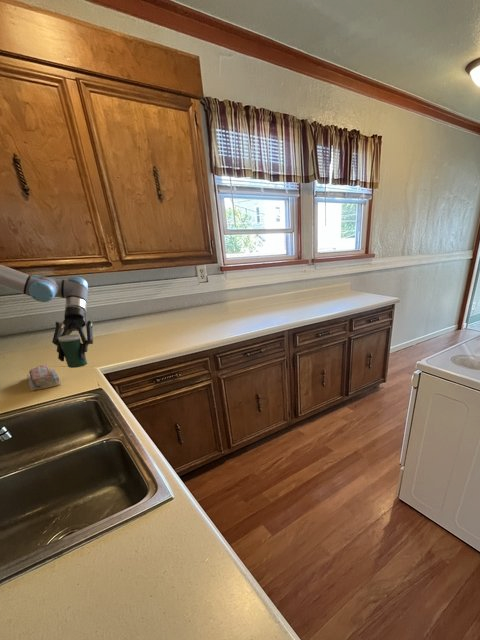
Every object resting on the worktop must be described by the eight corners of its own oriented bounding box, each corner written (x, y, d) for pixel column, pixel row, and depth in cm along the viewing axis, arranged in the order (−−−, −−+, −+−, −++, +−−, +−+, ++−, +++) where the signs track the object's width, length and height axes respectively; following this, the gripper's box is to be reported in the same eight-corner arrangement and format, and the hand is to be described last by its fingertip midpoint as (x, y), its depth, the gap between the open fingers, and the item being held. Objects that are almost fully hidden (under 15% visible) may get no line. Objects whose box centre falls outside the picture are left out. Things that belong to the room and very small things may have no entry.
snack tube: (64, 368, 134) (54, 340, 128) (72, 362, 140) (62, 335, 134) (83, 367, 135) (74, 339, 129) (90, 361, 141) (81, 334, 136)
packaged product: (57, 374, 130) (26, 380, 124) (61, 385, 132) (31, 392, 126) (52, 362, 142) (23, 367, 136) (56, 372, 144) (28, 378, 138)
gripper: (104, 314, 144) (101, 361, 138) (55, 316, 141) (49, 364, 134) (96, 304, 137) (93, 353, 131) (44, 306, 134) (38, 356, 127)
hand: (71, 359), depth 133 cm, fingers closed on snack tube, 7 cm apart
